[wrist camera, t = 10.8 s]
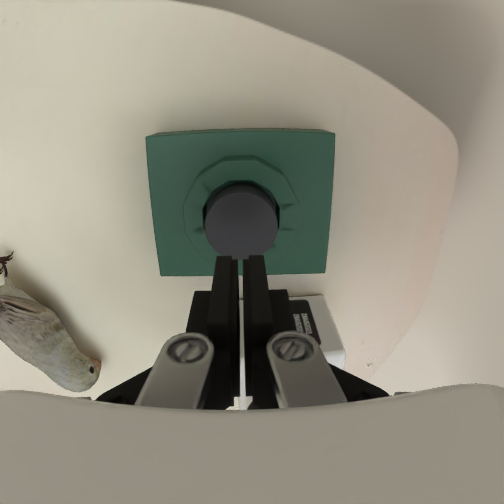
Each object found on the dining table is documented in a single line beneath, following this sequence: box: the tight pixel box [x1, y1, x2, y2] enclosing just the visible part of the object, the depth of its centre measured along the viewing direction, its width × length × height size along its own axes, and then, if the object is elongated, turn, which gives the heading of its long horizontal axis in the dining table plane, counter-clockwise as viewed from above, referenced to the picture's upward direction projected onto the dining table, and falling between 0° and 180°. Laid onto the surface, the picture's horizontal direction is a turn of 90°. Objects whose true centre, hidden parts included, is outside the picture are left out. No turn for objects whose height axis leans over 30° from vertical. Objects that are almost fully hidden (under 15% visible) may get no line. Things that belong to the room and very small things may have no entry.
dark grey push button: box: [205, 184, 278, 260], centre depth 18 cm, size 4×4×2 cm
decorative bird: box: [0, 251, 101, 392], centre depth 24 cm, size 5×16×8 cm, turn 35°
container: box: [238, 295, 346, 410], centre depth 23 cm, size 8×8×13 cm
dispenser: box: [146, 128, 335, 276], centre depth 21 cm, size 12×10×5 cm
